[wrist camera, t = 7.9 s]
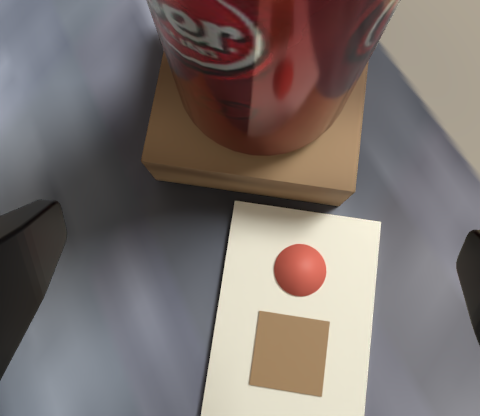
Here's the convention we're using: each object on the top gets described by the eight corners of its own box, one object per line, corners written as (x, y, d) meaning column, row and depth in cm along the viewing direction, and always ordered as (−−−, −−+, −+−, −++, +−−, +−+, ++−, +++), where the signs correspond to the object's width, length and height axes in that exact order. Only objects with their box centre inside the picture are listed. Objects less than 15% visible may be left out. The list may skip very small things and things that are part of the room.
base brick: (338, 206, 20) (355, 191, 17) (156, 179, 20) (141, 161, 17) (356, 40, 22) (374, 0, 19) (188, 18, 22) (178, -24, 19)
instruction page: (359, 449, 18) (361, 451, 17) (200, 421, 18) (199, 423, 18) (379, 222, 20) (381, 221, 19) (234, 201, 20) (234, 200, 20)
